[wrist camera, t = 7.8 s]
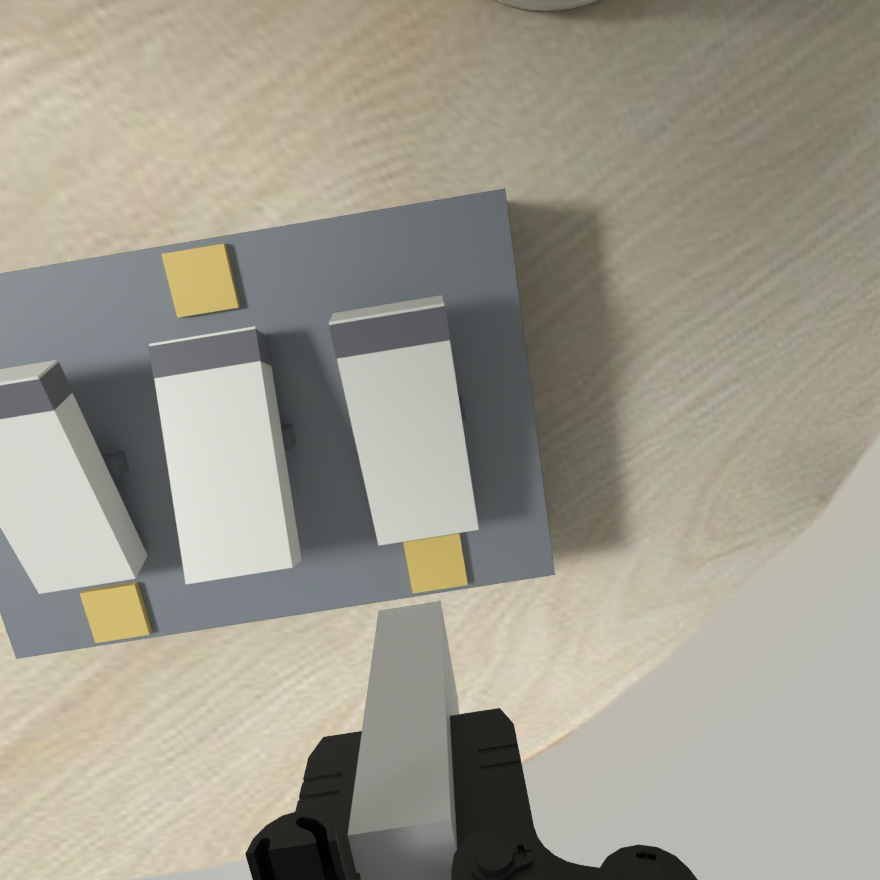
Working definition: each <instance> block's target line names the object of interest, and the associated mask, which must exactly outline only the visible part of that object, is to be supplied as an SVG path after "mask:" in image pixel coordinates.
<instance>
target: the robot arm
mask: <svg viewBox="0 0 880 880" xmlns="http://www.w3.org/2000/svg"><path fill="white" fill-rule="evenodd" d="M303 779H304V783H302V787H301V791H300V795H299V801H298V803H297V807H296V811H295V812H293V813H290V814H287V815H283V816H281V817H279V818H278V819H276V820H275V821H273V822H271V823H270V824H268V825H266V826H265V827H264V828H263V829H262V830H261V831H260V832H259V833H258V834H257V835H256V836H255V837H254V838H253V840H252V842H251V844H250V846H249V848H248V850H247V852H246V858H247V861H248V865H249V868H250V872H251V875H252V879H253V880H697V879H696V877H695V876H694V875H693V873H692V872H691V870H690V869H689V868H688V867H687V866H686V865H685V864H684V863H682V862H681V861H680V860H679V859H678V858H677V857H676V856H675V855H673V854H671V853H668V852H666V851H664V850H662V849H660V848H658V847H651V846H644V845H634V846H630V847H624V848H620V849H619V850H617V851H616V852H614V853H612V854H611V855H609V856H608V857H607V858H606V859H605V861H604V863H603V864H602V866H601V867H600V868H597V867H590V866H584V865H578V864H575V863H570V862H567V861H565V860H563V859H561V858H559V857H557V856H555V855H554V854H552V853H551V852H550V851H549V850H548V849H546V848H545V847H544V845H543V844H542V843H541V841H540V840H539V838H538V837H537V834H536V831H535V828H534V825H533V820H532V815H531V810H530V804H529V799H528V794H527V789H526V784H525V779H524V774H523V769H522V764H521V759H520V754H519V749H518V744H517V738H516V733H515V728H514V724H513V723H512V721H511V720H510V719H509V718H508V717H507V716H506V715H505V714H504V712H503V711H502V710H501V709H500V708H497V709H491V710H484V711H478V712H471V713H465V714H459V707H458V697H457V692H456V686H455V680H454V675H453V669H452V663H451V658H450V652H449V646H448V641H447V635H446V629H445V624H444V618H443V612H442V607H441V601H438V602H432V603H425V604H419V605H412V606H406V607H400V608H393V609H387V610H381V611H379V612H378V619H377V627H376V634H375V641H374V648H373V656H372V663H371V670H370V677H369V684H368V692H367V699H366V706H365V713H364V721H363V728H362V731H360V732H353V733H347V734H340V735H334V736H327V737H323V738H322V740H321V741H320V742H319V744H318V745H317V746H316V748H315V749H314V751H313V752H312V753H311V755H310V756H309V758H308V762H307V766H306V770H305V774H304V778H303Z"/></svg>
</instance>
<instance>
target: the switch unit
mask: <svg viewBox="0 0 880 880" xmlns="http://www.w3.org/2000/svg"><path fill="white" fill-rule="evenodd" d="M441 295H442V297H443V300H444V304H445V309H446V315H447V322H448V328H449V335H450V345H451V352H452V358H453V365H454V371H455V378H456V384H457V391H458V398H459V404H460V411H461V417H462V424H463V430H464V437H465V443H466V450H467V456H468V463H469V469H470V476H471V482H472V489H473V495H474V502H475V509H476V515H477V522H478V528H479V530H474V531H468V532H462V533H455V534H449V535H443V536H436V537H430V538H424V539H417V540H411V541H405V542H398V543H392V544H386V545H379V546H378V541H377V537H376V532H375V528H374V523H373V519H372V514H371V510H370V505H369V501H368V496H367V492H366V487H365V483H364V478H363V474H362V469H361V465H360V460H359V456H358V452H357V447H356V443H355V438H354V434H353V429H352V425H351V420H350V416H349V411H348V407H347V402H346V398H345V393H344V389H343V384H342V380H341V375H340V371H339V366H338V362H337V359H336V356H335V351H334V347H333V342H332V338H331V333H330V329H329V321H330V319H331V317H332V315H333V313H337V312H344V311H350V310H356V309H362V308H368V307H374V306H380V305H386V304H392V303H398V302H404V301H410V300H416V299H422V298H428V297H434V296H441ZM254 326H255V327H257V328H258V329H260V330H262V331H263V332H265V333H266V334H267V336H268V343H269V349H270V356H271V362H272V373H273V379H274V386H275V392H276V398H277V405H278V411H279V418H280V424H281V431H282V437H283V443H284V450H285V456H286V463H287V469H288V475H289V482H290V488H291V495H292V501H293V508H294V514H295V520H296V527H297V533H298V540H299V546H300V553H301V559H302V561H301V562H300V563H298V564H297V565H295V566H294V567H293V568H287V569H281V570H275V571H268V572H262V573H255V574H249V575H243V576H236V577H230V578H224V579H217V580H211V581H205V582H198V583H192V584H185V577H184V571H183V564H182V557H181V551H180V544H179V538H178V531H177V525H176V518H175V511H174V505H173V498H172V492H171V485H170V479H169V472H168V466H167V459H166V452H165V446H164V439H163V433H162V426H161V420H160V413H159V406H158V400H157V393H156V387H155V380H154V378H153V372H152V366H151V359H150V352H149V344H151V343H157V342H163V341H169V340H175V339H181V338H187V337H193V336H200V335H206V334H212V333H218V332H224V331H230V330H236V329H242V328H248V327H254ZM53 360H58V362H59V363H60V365H61V367H62V369H63V371H64V374H65V376H66V378H67V380H68V382H69V384H70V386H71V389H72V391H73V395H74V397H75V399H76V401H77V404H78V406H79V408H80V410H81V412H82V414H83V417H84V419H85V421H86V423H87V425H88V427H89V430H90V432H91V434H92V436H93V438H94V440H95V443H96V445H97V447H98V449H99V451H100V453H101V456H102V458H103V460H104V462H105V464H106V466H107V469H108V471H109V473H110V475H111V477H112V479H113V481H114V484H115V486H116V488H117V490H118V492H119V494H120V497H121V499H122V501H123V503H124V505H125V507H126V510H127V512H128V514H129V516H130V518H131V520H132V523H133V525H134V527H135V529H136V531H137V533H138V536H139V538H140V540H141V542H142V544H143V546H144V549H145V551H146V553H147V555H148V556H147V557H146V559H145V561H144V563H143V565H142V567H141V569H140V571H139V573H138V575H137V577H136V579H131V580H124V581H118V582H112V583H105V584H99V585H93V586H86V587H80V588H74V589H67V590H61V591H55V592H48V593H42V594H39V593H38V591H37V590H36V588H35V586H34V584H33V583H32V581H31V579H30V578H29V576H28V574H27V572H26V571H25V569H24V567H23V566H22V564H21V562H20V560H19V559H18V557H17V555H16V554H15V552H14V550H13V548H12V547H11V545H10V543H9V542H8V540H7V538H6V536H5V535H4V533H3V531H2V530H1V528H0V613H1V616H2V619H3V622H4V625H5V628H6V630H7V633H8V636H9V639H10V642H11V645H12V647H13V650H14V653H15V656H16V659H18V658H24V657H31V656H37V655H43V654H50V653H56V652H63V651H69V650H75V649H82V648H88V647H95V646H101V645H107V644H114V643H120V642H127V641H133V640H139V639H146V638H152V637H159V636H165V635H171V634H178V633H184V632H191V631H197V630H203V629H210V628H216V627H223V626H229V625H235V624H242V623H248V622H255V621H261V620H268V619H274V618H280V617H287V616H293V615H300V614H306V613H312V612H319V611H325V610H332V609H338V608H344V607H351V606H357V605H364V604H370V603H376V602H383V601H389V600H396V599H402V598H408V597H415V596H421V595H428V594H434V593H440V592H447V591H453V590H460V589H466V588H472V587H479V586H485V585H492V584H498V583H504V582H511V581H517V580H524V579H530V578H537V577H543V576H549V575H555V572H554V564H553V557H552V549H551V541H550V533H549V526H548V518H547V510H546V502H545V495H544V487H543V479H542V471H541V464H540V456H539V448H538V440H537V433H536V425H535V417H534V409H533V402H532V394H531V386H530V378H529V371H528V363H527V355H526V347H525V340H524V332H523V324H522V316H521V309H520V301H519V293H518V285H517V277H516V270H515V262H514V254H513V246H512V239H511V231H510V223H509V215H508V208H507V200H506V192H505V189H500V190H494V191H488V192H482V193H476V194H471V195H465V196H459V197H453V198H447V199H441V200H435V201H429V202H423V203H417V204H411V205H405V206H399V207H393V208H387V209H381V210H375V211H369V212H363V213H357V214H351V215H345V216H339V217H333V218H327V219H321V220H316V221H310V222H304V223H298V224H292V225H286V226H280V227H274V228H268V229H262V230H256V231H250V232H244V233H238V234H232V235H226V236H220V237H214V238H208V239H202V240H196V241H190V242H184V243H178V244H172V245H167V246H161V247H155V248H149V249H143V250H137V251H131V252H125V253H119V254H113V255H107V256H101V257H95V258H89V259H83V260H77V261H71V262H65V263H59V264H53V265H47V266H41V267H35V268H29V269H23V270H17V271H12V272H6V273H0V369H4V368H10V367H16V366H23V365H29V364H35V363H41V362H47V361H53Z"/></svg>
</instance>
